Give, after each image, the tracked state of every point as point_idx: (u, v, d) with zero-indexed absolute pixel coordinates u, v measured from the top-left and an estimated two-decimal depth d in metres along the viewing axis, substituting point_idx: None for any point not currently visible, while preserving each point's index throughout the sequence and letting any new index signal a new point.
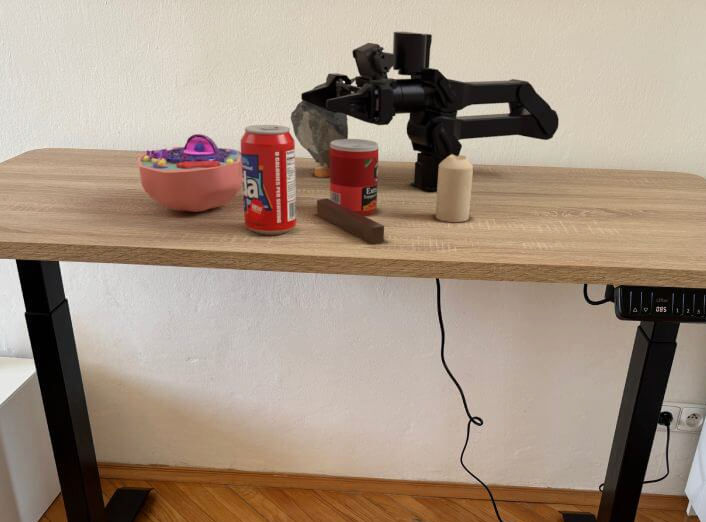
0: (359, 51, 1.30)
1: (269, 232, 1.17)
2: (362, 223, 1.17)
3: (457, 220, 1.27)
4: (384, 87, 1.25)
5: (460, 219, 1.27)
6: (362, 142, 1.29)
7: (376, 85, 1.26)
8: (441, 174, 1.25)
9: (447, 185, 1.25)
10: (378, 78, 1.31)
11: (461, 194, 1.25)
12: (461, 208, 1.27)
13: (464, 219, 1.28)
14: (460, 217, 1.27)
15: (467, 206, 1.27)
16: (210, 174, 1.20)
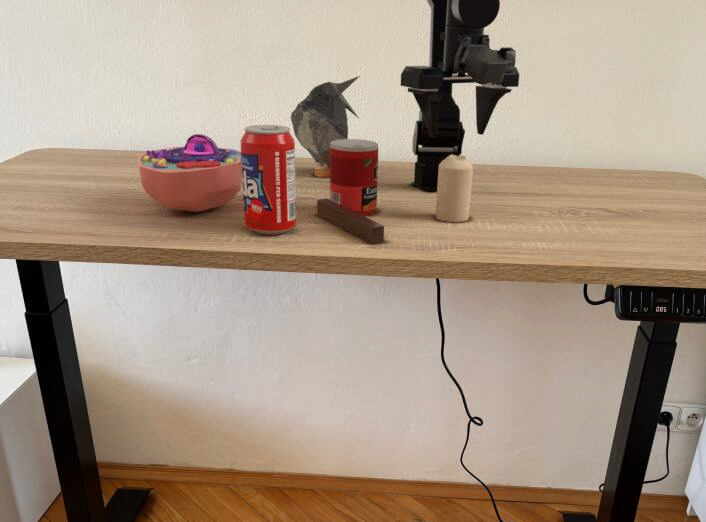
0: None
1: (269, 232, 1.17)
2: (362, 223, 1.17)
3: (457, 220, 1.27)
4: (518, 81, 1.22)
5: (460, 219, 1.27)
6: (362, 142, 1.29)
7: (512, 86, 1.22)
8: (441, 174, 1.25)
9: (447, 185, 1.25)
10: None
11: (461, 194, 1.25)
12: (461, 208, 1.27)
13: (464, 219, 1.28)
14: (460, 217, 1.27)
15: (467, 206, 1.27)
16: (210, 174, 1.20)
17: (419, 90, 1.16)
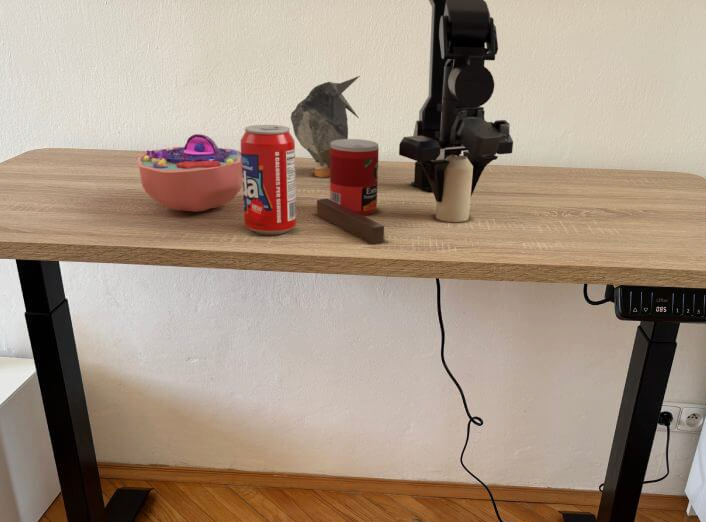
0: None
1: (269, 232, 1.17)
2: (362, 223, 1.17)
3: (457, 220, 1.27)
4: (512, 148, 1.27)
5: (460, 219, 1.27)
6: (362, 142, 1.29)
7: (506, 153, 1.26)
8: None
9: (447, 185, 1.25)
10: None
11: (461, 194, 1.25)
12: (461, 208, 1.27)
13: (464, 219, 1.28)
14: (460, 217, 1.27)
15: (467, 206, 1.27)
16: (210, 174, 1.20)
17: None
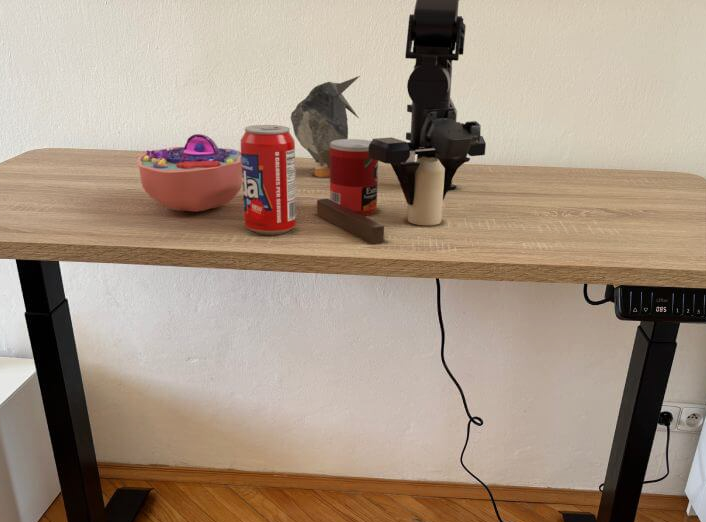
0: None
1: (269, 232, 1.17)
2: (362, 223, 1.17)
3: (429, 223, 1.25)
4: (485, 149, 1.24)
5: (432, 222, 1.25)
6: (362, 142, 1.29)
7: (478, 155, 1.24)
8: None
9: (418, 188, 1.22)
10: None
11: (432, 197, 1.23)
12: (433, 211, 1.24)
13: (436, 222, 1.25)
14: (432, 221, 1.25)
15: (439, 209, 1.25)
16: (210, 174, 1.20)
17: None
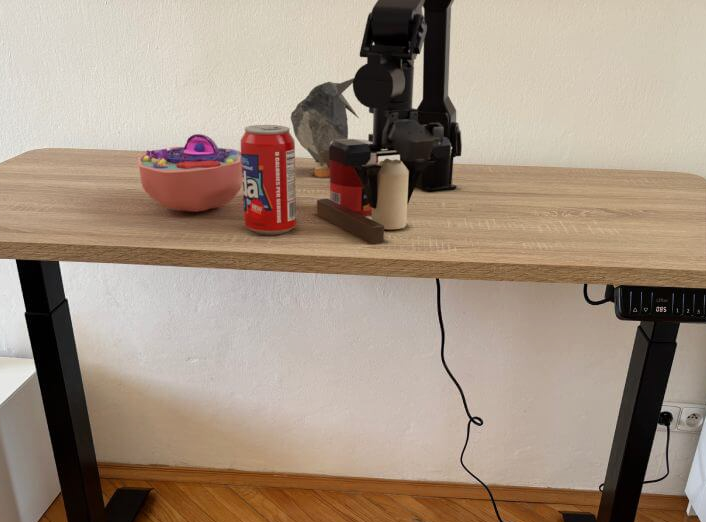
0: None
1: (269, 232, 1.17)
2: (362, 223, 1.17)
3: (393, 227, 1.21)
4: (450, 151, 1.21)
5: (396, 226, 1.21)
6: None
7: (443, 157, 1.20)
8: None
9: (381, 191, 1.19)
10: None
11: (396, 201, 1.19)
12: (397, 215, 1.21)
13: (400, 226, 1.22)
14: (396, 225, 1.21)
15: (403, 213, 1.21)
16: (210, 174, 1.20)
17: None
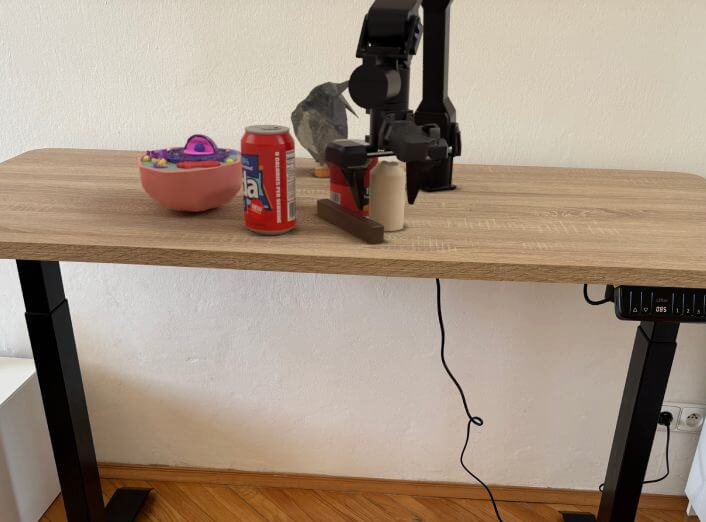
0: None
1: (269, 232, 1.17)
2: (362, 223, 1.17)
3: (390, 229, 1.21)
4: (447, 152, 1.21)
5: (393, 228, 1.21)
6: (362, 142, 1.29)
7: (440, 158, 1.20)
8: (372, 181, 1.19)
9: (378, 193, 1.19)
10: None
11: (393, 202, 1.19)
12: (394, 217, 1.21)
13: (397, 228, 1.22)
14: (393, 226, 1.21)
15: (400, 214, 1.21)
16: (210, 174, 1.20)
17: None
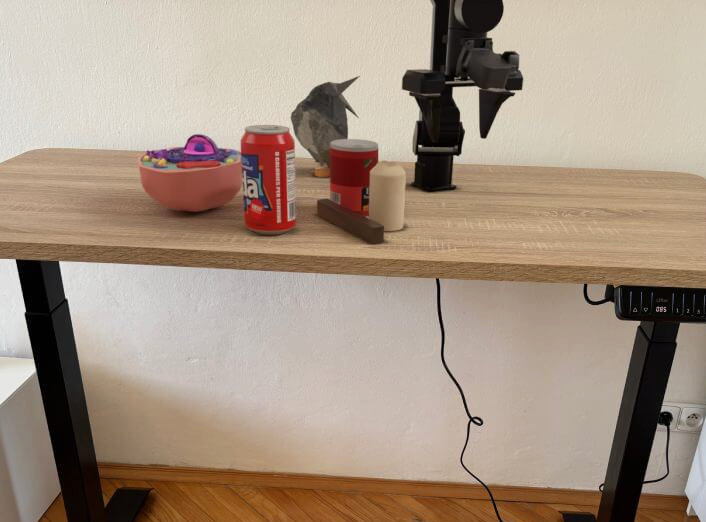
0: None
1: (269, 232, 1.17)
2: (362, 223, 1.17)
3: (390, 229, 1.21)
4: (522, 84, 1.20)
5: (393, 228, 1.21)
6: (362, 142, 1.29)
7: None
8: (372, 181, 1.19)
9: (378, 193, 1.19)
10: None
11: (393, 202, 1.19)
12: (394, 217, 1.21)
13: (397, 228, 1.22)
14: (393, 226, 1.21)
15: (400, 214, 1.21)
16: (210, 174, 1.20)
17: (421, 94, 1.14)
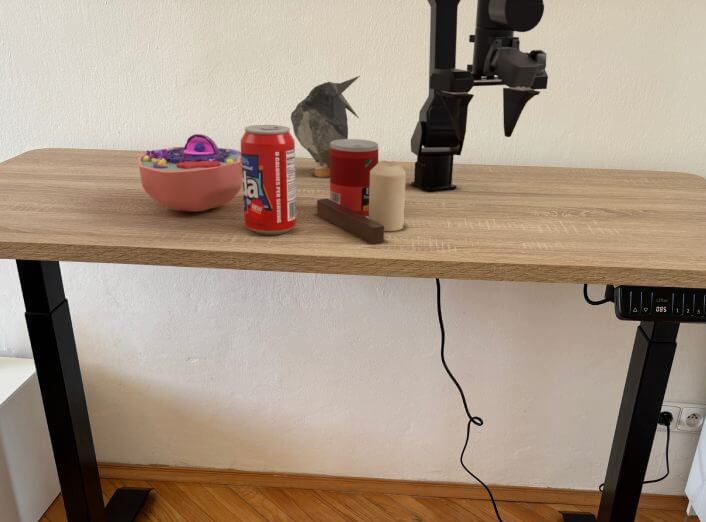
0: None
1: (269, 232, 1.17)
2: (362, 223, 1.17)
3: (390, 229, 1.21)
4: None
5: (393, 228, 1.21)
6: (362, 142, 1.29)
7: (540, 88, 1.21)
8: (372, 181, 1.19)
9: (378, 193, 1.19)
10: None
11: (393, 202, 1.19)
12: (394, 217, 1.21)
13: (397, 228, 1.22)
14: (393, 226, 1.21)
15: (400, 214, 1.21)
16: (210, 174, 1.20)
17: (449, 93, 1.15)
